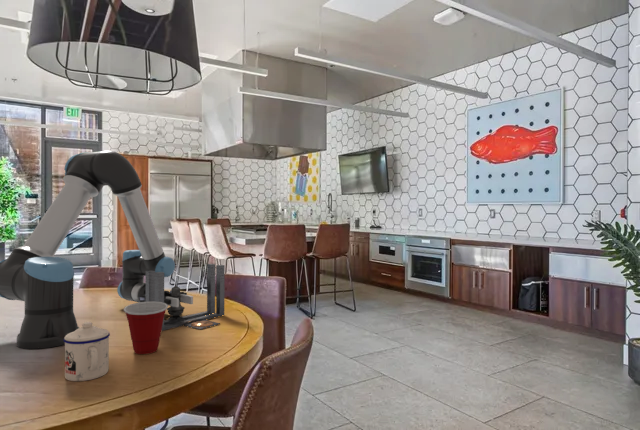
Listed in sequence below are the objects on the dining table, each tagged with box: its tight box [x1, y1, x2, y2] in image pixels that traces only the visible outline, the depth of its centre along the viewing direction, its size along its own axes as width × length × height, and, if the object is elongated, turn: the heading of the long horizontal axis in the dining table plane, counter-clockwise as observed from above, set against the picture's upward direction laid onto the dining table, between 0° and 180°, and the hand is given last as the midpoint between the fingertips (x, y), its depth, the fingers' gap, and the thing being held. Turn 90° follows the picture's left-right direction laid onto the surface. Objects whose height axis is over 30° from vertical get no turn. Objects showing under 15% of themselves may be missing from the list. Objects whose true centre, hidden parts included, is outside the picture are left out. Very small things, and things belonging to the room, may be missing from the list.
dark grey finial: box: [166, 283, 186, 320], centre depth 145 cm, size 6×6×12 cm
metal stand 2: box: [155, 264, 226, 332], centre depth 140 cm, size 2×26×18 cm, turn 143°
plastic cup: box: [123, 302, 169, 355], centre depth 110 cm, size 11×11×12 cm
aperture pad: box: [183, 319, 221, 330], centre depth 136 cm, size 8×8×1 cm
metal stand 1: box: [145, 263, 216, 325], centre depth 143 cm, size 2×26×18 cm, turn 143°
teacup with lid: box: [64, 321, 111, 382], centre depth 93 cm, size 12×9×12 cm
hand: (185, 301), depth 142 cm, fingers open, 5 cm apart
